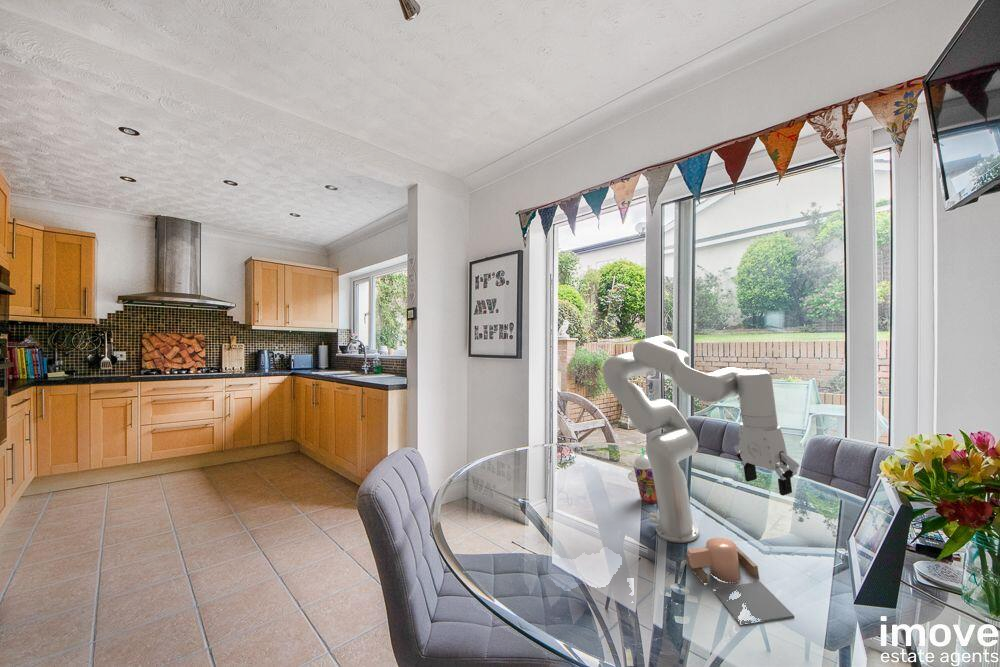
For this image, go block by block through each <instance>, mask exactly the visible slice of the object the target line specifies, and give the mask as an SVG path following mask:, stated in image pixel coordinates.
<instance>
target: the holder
mask: <svg viewBox="0 0 1000 667" xmlns="http://www.w3.org/2000/svg"><path fill="white" fill-rule="evenodd" d="M736 548H737V554H738V561H739V564H741V566H742V567H744V569H746V571H747V572H749V573H750V575H751V576H753V577H754V578H755V579H757V578H758V579H759V578H760V574H759V569H758V568H759V567H758V565H757V564H756V563H755V562H754V561H753V560H752V559H751V558H750V557H748V555H746V554H745V553H744V552H743V551H742V550H741V549H740V548H739V546H737V545H736ZM685 558H686V563H687V566H688V567H689V568H690V567H691V565H690V561H689V555H688V551H687V552H685ZM690 569H691V570H692V571H694V572H695V573H696V574H695V573H694V572H693V573H694V574H695V576H696V577H697V576H698V577H699V578H700V579H701V580H702V582H703V583H708V584H709V579H708V578H709V577H708V574H707V572H706V571H705V570H704V568H703V567H698V568H692V567H691V568H690ZM698 577H697V578H698ZM699 578H698V579H699ZM700 579H699V580H700ZM702 582H701V583H702ZM703 583H702V584H703Z"/></svg>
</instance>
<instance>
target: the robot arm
mask: <svg viewBox="0 0 1000 667" xmlns="http://www.w3.org/2000/svg"><path fill="white" fill-rule="evenodd" d="M653 370H654V371H656V372H658V373H661V374H663V375H665V376H667V377H669V378H671V379H672V381H673V383H674V384H675V386H677V387H678V389H680V391H681V392H683V393H685V394H686V395H688V396H691V397H693V398H695V399H697V400H700V401H703V402H706V403H713V404H716V403H719V402H722V401H724V400H727V399H730V398H732V397H738V400H739V407H740V408H739V409H740V412H739V417H741V423H739V429H738V430H739V432H738V444H736V445H734V446H733V449H734V451H735V453H736V457H737V458H738V459H739V460H740V464H741V466H743V471H744V473H743V474H744V478H745V481H746V482H752V481H754V480H757V478H758V477H757V476H758V475H757V470H756V467H758V468H761V469H763V470H767V471H775V473H776V474H777V476H778V477H779V478H777V483H778V484H777V485H778V491H779V495H780V496H786V495H790V494H792V493H793V488H792V480H791V478H794V476H795V475H796V474H797V472H798V469H799V467H800V465H799V463H798V462H797V461H795V460H794V459H793V458H792V457H790V456H789V455H788V453H787V447H786V444H785V438H784V434H783V433H782V430H781V427H780V426H779V423H778V417H777V408H776V402H775V392H774V385H773V378H772V375H771V373H770V372H769V371H767V370H764V369H749V370H747V369H742V368H738V367H725V368H722V369H717V370H715V371H711V372H709V373H706V372H702V371H699V370H696V369H694V368H692V367H690V356H689V354H688V353H687V352H686V351H684V350H681V349H678V348H677V344H676V342H675V341H674V340H673V339H672V338H671V337H669V336H666V335H656V336H652V337H648V338H644V339H640V340H639V341H638V342H636V344H634V346H633V347H632V350H631V351H627V352H623V353H619V354H616V355H613V356H612V357H609V358H608V359H606V360H605V362H604V364H603V366H602V377H603V380H604V383H605V385H606V387H607V388H608V390H609V391H610V393H612V395H613V396H614V397H615V399H616V400H617V401H618V402H619V404H620V405H621V407H622V409H623V410H624V412H625V413H626V416H628V418H629V420H630V421H631V423H632V424H633V426H634V428H635V429H636V430H637V432H639V433H640V434H643V435H649V434H652V433H655V432H657V431H660V430H662V431H663V432H661V433H658V434H656V435H654V436H653V437H651V438H650V439H649V440H648V441H647V443H646V446H645V453H646V455H647V457H648V460H649V462H650V465H651V469H652V473H653V478H654V484H655V490H656V497H657V502H656V503H657V508H658V513H655V512H652V511H651V512H649V513H648V516H649V522H650V523H654V524H657V525H656V528H655V529H656V533H657V535H658V537H660V538H661V539H662V540H665V541H667V542H671V543H679V544H680V543H690V542H693V541H695V540H696V539H698V538H699V536H700V533H701V532H700V529H699V526H698V525H696V523H694V522H693V515H692V509H691V504H690V496H689V489H688V483H687V479H686V475H685V472H684V471H683V469H682V468H681V466H680V464H679V462H680V461H681V462H682V461H683V460H684V459H686V458H689V457H691V456H692V455H694V454H695V453H696V452H698V449H699V441H698V438H697V436H696V434H695V432H694V431H693V430H692V428H691V426H690V425H689V424H688V422H687V421H686V419H685V418H684V417H683V415H682V413H681V412H680V411H679V409H678V408H677V406H676V405H675V404H673V403H672V402H671V401H669V400H668V399H665V398H657V399H653V400H650V399H649V398H648V397H647V396H646V394H645V393H644V391H643V390H642V389H641V387H640V386H638V385H637V384H636V383H634V382H632V381H630V378H634V377H637V376H640V375H644V374H646V373H649V372H651V371H653ZM783 472H784V473H783Z"/></svg>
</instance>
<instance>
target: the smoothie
mask: <svg viewBox="0 0 1000 667" xmlns="http://www.w3.org/2000/svg"><path fill="white" fill-rule="evenodd" d="M632 464H633V469H634V473H635V477H636V482H637V487H638V491H639V496H640V498H641V500H642V502H644V503H646V502H647V503H646V504H654V503H653V502H655V503H657V497H656V490H655V484H654V478H653V473H652V469H651V465H650V462H649V460H648V457H647V454H645V450H644V447H641V454H639V455H638V456H637V457H636V458H635V459H634V462H633V463H632Z"/></svg>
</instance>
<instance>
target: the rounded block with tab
mask: <svg viewBox="0 0 1000 667" xmlns="http://www.w3.org/2000/svg"><path fill="white" fill-rule="evenodd" d="M705 545H706V546H704V547H699V548H693V549H692V548H691V549H687V552H688V555H689V561H690V565H691V567H692V568H698V567H702V568H703V567H708V566H709V571H710V575H711V574H712V575H713V576H715V577H717V578H718V579H720V580H722V581H725V582H728V583H727V584H735V583H734V582H736V583H738V582H739V581H740V580H741V579H740V578H742V576H741V568H740V562H739V561H738V554H737V548H736V546H737V545H736V543H735V542H734V541H733V540H731V539H728V538H723V537H714V538H710V539H708V540H706V544H705ZM738 580H739V581H738ZM737 581H738V582H737ZM729 582H731V583H729ZM732 582H733V583H732Z"/></svg>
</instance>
